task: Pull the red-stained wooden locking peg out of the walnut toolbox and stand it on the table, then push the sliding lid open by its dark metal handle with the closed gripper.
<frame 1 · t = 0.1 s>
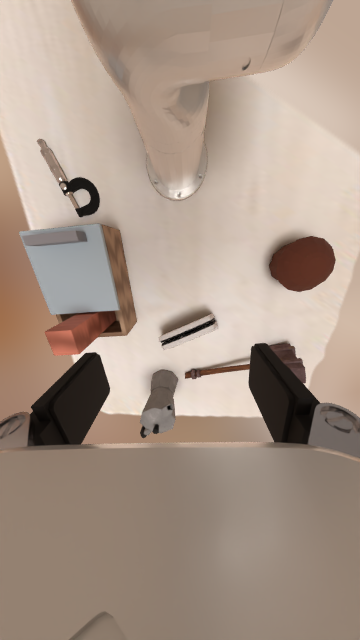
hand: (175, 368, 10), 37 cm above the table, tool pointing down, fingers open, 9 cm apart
micrometer: (75, 179, 38), on the table
muffin: (287, 263, 42), on the table
white curved piece: (188, 327, 50), on the table
lid: (69, 274, 34), point 11 cm above the table, slide at 0.0 cm
hammer: (234, 361, 54), on the table
coffeepot: (163, 381, 58), on the table
peg: (106, 311, 48), point 1 cm above the table, touching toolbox
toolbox: (100, 282, 46), on the table
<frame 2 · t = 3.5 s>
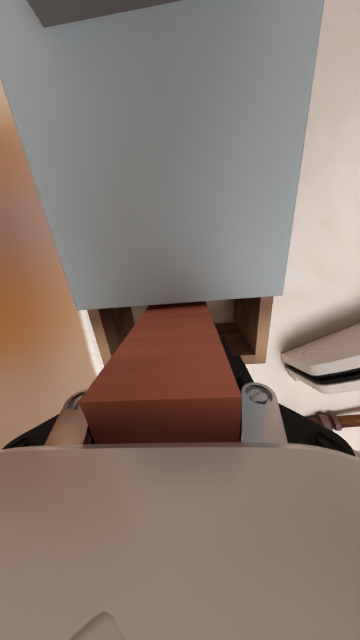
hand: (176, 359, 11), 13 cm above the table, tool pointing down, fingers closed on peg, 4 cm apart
white curved piece: (336, 336, 25), on the table
lid: (158, 154, 9), point 11 cm above the table, slide at 0.0 cm
peg: (181, 305, 23), point 1 cm above the table, touching gripper, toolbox
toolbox: (176, 241, 21), on the table
when the fingers open (14 cm above the table, at t = 10.8 s): peg drops 1 cm, on the table.
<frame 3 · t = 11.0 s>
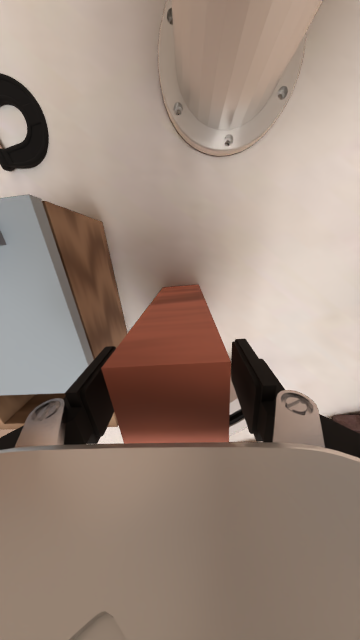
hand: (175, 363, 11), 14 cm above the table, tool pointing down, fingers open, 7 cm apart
white curved piece: (215, 386, 30), on the table
hammer: (283, 434, 34), on the table
peg: (182, 303, 24), on the table
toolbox: (72, 317, 26), on the table
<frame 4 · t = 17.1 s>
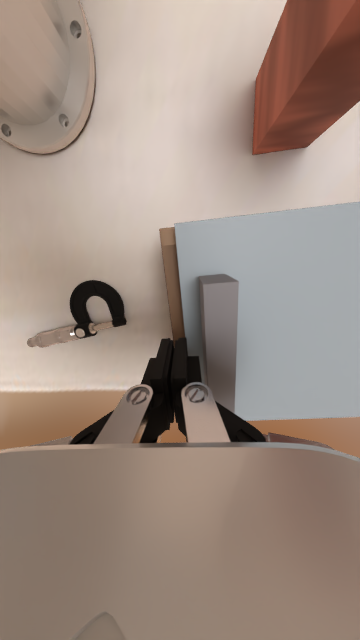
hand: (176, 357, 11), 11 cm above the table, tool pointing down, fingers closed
micrometer: (75, 312, 24), on the table
lid: (317, 346, 11), point 11 cm above the table, slide at 1.1 cm, touching gripper
peg: (282, 114, 15), on the table
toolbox: (272, 298, 21), on the table
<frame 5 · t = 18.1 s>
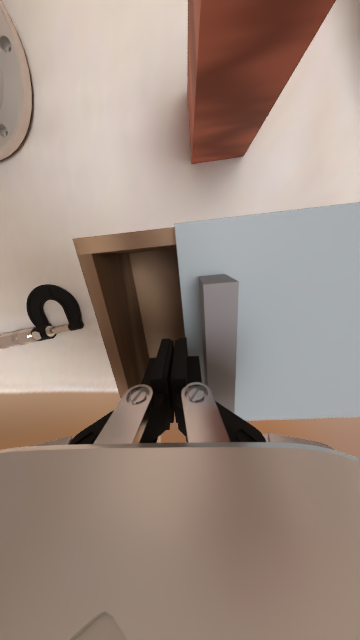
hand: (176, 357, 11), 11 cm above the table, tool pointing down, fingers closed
micrometer: (34, 314, 24), on the table
lid: (316, 346, 11), point 11 cm above the table, slide at 6.9 cm, touching gripper
peg: (216, 125, 15), on the table
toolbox: (225, 302, 22), on the table
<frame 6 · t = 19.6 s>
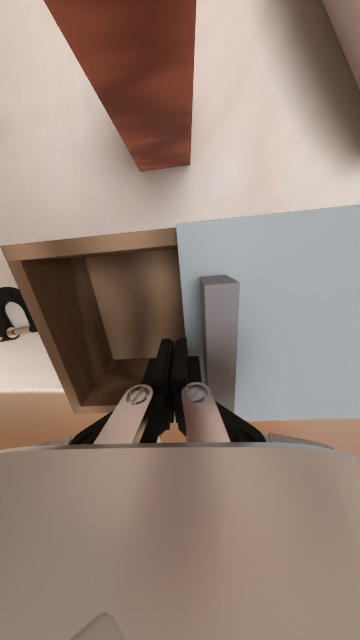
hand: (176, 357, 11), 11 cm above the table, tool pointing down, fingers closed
white curved piece: (355, 44, 14), on the table
lid: (316, 347, 11), point 11 cm above the table, slide at 12.2 cm, touching gripper
peg: (161, 134, 16), on the table
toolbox: (185, 306, 22), on the table
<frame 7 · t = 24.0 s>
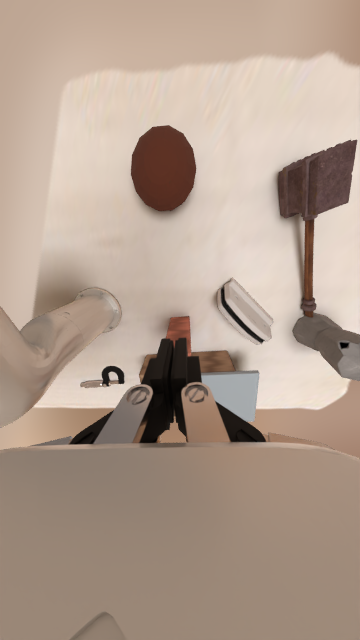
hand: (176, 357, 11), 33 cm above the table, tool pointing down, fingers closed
micrometer: (102, 374, 55), on the table
muffin: (167, 186, 35), on the table
white curved piece: (241, 308, 45), on the table
lid: (223, 403, 42), point 11 cm above the table, slide at 12.2 cm
hammer: (299, 251, 39), on the table
coffeepot: (312, 330, 46), on the table
peg: (180, 325, 47), on the table
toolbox: (188, 374, 53), on the table
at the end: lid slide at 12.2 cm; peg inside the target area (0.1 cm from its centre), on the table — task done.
